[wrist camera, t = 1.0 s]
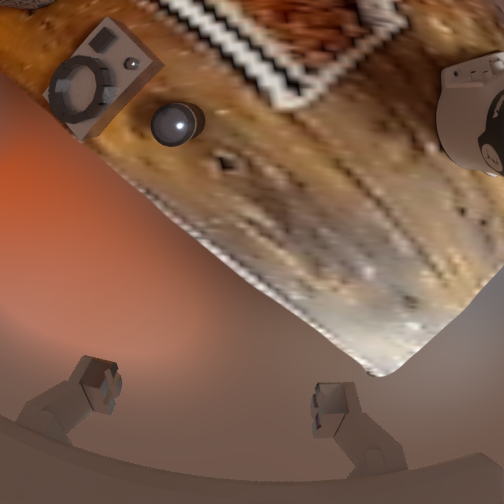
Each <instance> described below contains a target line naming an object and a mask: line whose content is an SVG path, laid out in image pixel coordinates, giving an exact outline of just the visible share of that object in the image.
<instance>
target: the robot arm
mask: <svg viewBox="0 0 504 504" xmlns="http://www.w3.org/2000/svg"><path fill="white" fill-rule="evenodd" d="M454 72H455V73H456V76H455V75H454ZM441 85H442V92H441V96H440V99H439V102H438V106H437V113H436V124H437V131H438V135H439V139H440V141H441V144H442V146H443V148H444V150H445V152H446V153H447V154H448V156H449V157H450V158H451V159H452V160H453V161H454V162H455V163H456V164H458V165H459V166H461V167H463V168H466V169H470V170H479V171H483V172H484V173H486V174H487V175H489V176H492V177H497V176H501V177H504V52H497V53H493V54H489V55H486V56H482V57H479V58H475V59H472V60H469V61H465V62H462V63H459V64H456V65H452V66H449V67H446V68H444V69H443V70H442V72H441ZM117 370H118V366H117V363H115V362H111V361H107V360H103V359H99V358H95V357H90V356H86V355H84V356H83V357H81V359H80V361H79V362H78V364H77V366H76V367H75V369H74V371H73V373H72V374H71V376H70V378H69V380H68V381H66V380H65V381H63V382H61V383H59V384H58V385H56V386H54V387H52V388H50V389H49V390H47V391H45V392H43V393H42V394H40V395H38V396H36V397H35V398H33V399H31V400H29V401H27V402H26V404H25V406H24V407H23V409H22V411H21V412H20V414H19V416H18V418H17V419H16V421H15V422H14V421H12V420H10V419H8V418H6V417H4V416H2V415H0V504H504V469H503V468H502V466H500V465H499V464H497V463H496V462H495V461H494V460H492V459H490V458H489V457H488V456H486V455H484V454H483V453H481V452H475V453H471V454H467V455H464V456H461V457H458V458H454V459H451V460H447V461H444V462H439V463H436V464H431V465H427V466H423V467H418V468H414V469H408V466H407V462H406V458H405V455H404V451H403V448H402V445H401V444H400V443H399V442H398V441H396V440H395V439H394V438H393V437H392V436H391V435H390V434H389V433H387V432H386V431H385V430H384V429H383V428H382V427H381V426H380V425H378V423H376V422H375V421H374V420H373V419H372V418H371V417H370V416H369V415H368V414H367V413H362V410H361V405H360V401H359V397H358V393H357V389H356V386H355V383H354V382H321V383H320V382H318V383H317V384H316V387H315V392H316V393H315V394H314V395H313V396H312V400H311V417H312V418H313V419H314V421H313V424H312V430H313V438H333V439H334V440H335V442H336V443H337V444H338V445H339V446H340V448H341V449H342V450H343V451H344V453H345V454H346V455H347V456H348V458H349V459H350V460H351V461H352V463H353V464H354V465H355V466H356V467H355V468H354V469H353V471H352V472H351V473H350V474H349V476H348V477H347V479H335V480H322V481H321V480H320V481H251V480H236V479H224V478H214V477H205V476H198V475H191V474H184V473H178V472H172V471H167V470H161V469H156V468H152V467H147V466H142V465H138V464H134V463H130V462H125V461H122V460H118V459H114V458H111V457H107V456H103V455H100V454H97V453H94V452H90V451H87V450H84V449H81V448H78V447H75V446H73V444H72V442H71V441H70V439H69V438H68V436H67V435H66V434H67V433H68V432H70V431H71V430H72V429H74V428H75V427H76V426H77V425H78V424H80V423H81V422H82V421H84V420H85V419H86V418H87V417H88V416H90V415H91V414H92V413H94V412H93V411H95V412H99V413H103V414H107V415H111V414H112V412H113V410H114V407H115V405H116V403H115V400H114V399H115V398H117V397H118V396H119V395H120V392H121V388H122V379H121V375H120V374H119V373H118V372H117Z"/></svg>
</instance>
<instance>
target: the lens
mask: <svg viewBox="0 0 504 504" xmlns="http://www.w3.org/2000/svg"><path fill="white" fill-rule="evenodd" d="M204 126H205V116H204V113H203V111H202V110H201V109H200V108H199V107H198V106H196V105H194V104H191V103H171V104H167V105H164V106H162V107H160V108H159V109H158V110H157V111H156V112H155V114H154V115H153V117H152V120H151V131H152V134H153V136H154V138H155V139H156V140H157V141H158V142H159V143H160V144H162V145H165V146H169V147H174V146H178V145H181V144H184V143H186V142H187V141H189V140H191V139H193V138H195V137H197V136H198V135H199V134H200V133H201V132H202V130H203V129H204Z"/></svg>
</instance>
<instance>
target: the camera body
mask: <svg viewBox="0 0 504 504" xmlns="http://www.w3.org/2000/svg"><path fill="white" fill-rule="evenodd" d="M164 66H165V65H164V64H163V63H162V61H161V60H160V59H159V58H158V57H157V56H156V55H155V54H154V53H153V52H152V51H151V50H150V49H149V48H148V47H147V46H146V45H145V44H144V43H143V42H142V41H141V40H140V39H139V38H138V37H137V36H136V35H135V34H134V33H133V32H132V31H131V30H130V29H129V28H128V27H127V26H126V25H125V24H124V23H122V22H120V21H118V20H115V19H113V18H111V17H108V16H107V17H106V18H105V19H104V20H103V21H102V22H101V23H100V24H99V25H98V26H97V27H96V28H95V29H94V31H93V32H92V33H91V34H90V35H89V36H88V37H87V38H86V39H85V41H84V42H83V43H82V44H81V45H80V46H79V48H78V49H77V50H76V51H75V52H74V54H73V55H72V56H71V57H70V58H69V59H68V60H66V61H64V62H63V63H61V65H60V66H59V67H58V69H57V70H56V71H55V73H54V74H53V77H51V81H50V85H49V86H48V88H47V89H46V91H45V92H44V93H43V96H44V98H45V99H46V100H47V101H48V103H49V105H50V109H52V110H51V111H52V112H53V113H54V115H55V116H56V117H57V118H58V119H59V120H61V121H62V122H65V123H66V124H67V125H68V127H69V128H70V129H71V130H72V131H73V133H74V134H75V135H76V136H77V137H78V138H79V140H80V141H83V140H86V139H90V138H93V137H97V136H99V135H100V134H101V132H102V131H103V130H104V129H105V128H106V127H107V125H108V124H109V123H110V122H111V121H112V120H113V119H114V117H115V116H116V115H117V114H118V113H119V112H120V111H121V110H122V109H123V108H124V106H125V105H126V104H127V103H128V102H129V101H130V100H131V99H132V98H133V97H134V96H135V95H136V94H137V93H138V92H139V91H140V90H141V89H142V88H143V87H144V86H145V85H146V84H147V83H148V82H149V81H150V80H151V79H152V78H153V77H154V76H155V75H156V74H157V73H158V72H159V71H160V70H161V69H162V68H163V67H164Z"/></svg>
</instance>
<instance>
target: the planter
mask: <svg viewBox="0 0 504 504" xmlns="http://www.w3.org/2000/svg"><path fill="white" fill-rule="evenodd" d="M54 1H56V0H0V6H6V7H14V8H20V9H27V10H32V9H38V8H41V7H44V6H46V5H49V4H51V3H53V2H54Z"/></svg>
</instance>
